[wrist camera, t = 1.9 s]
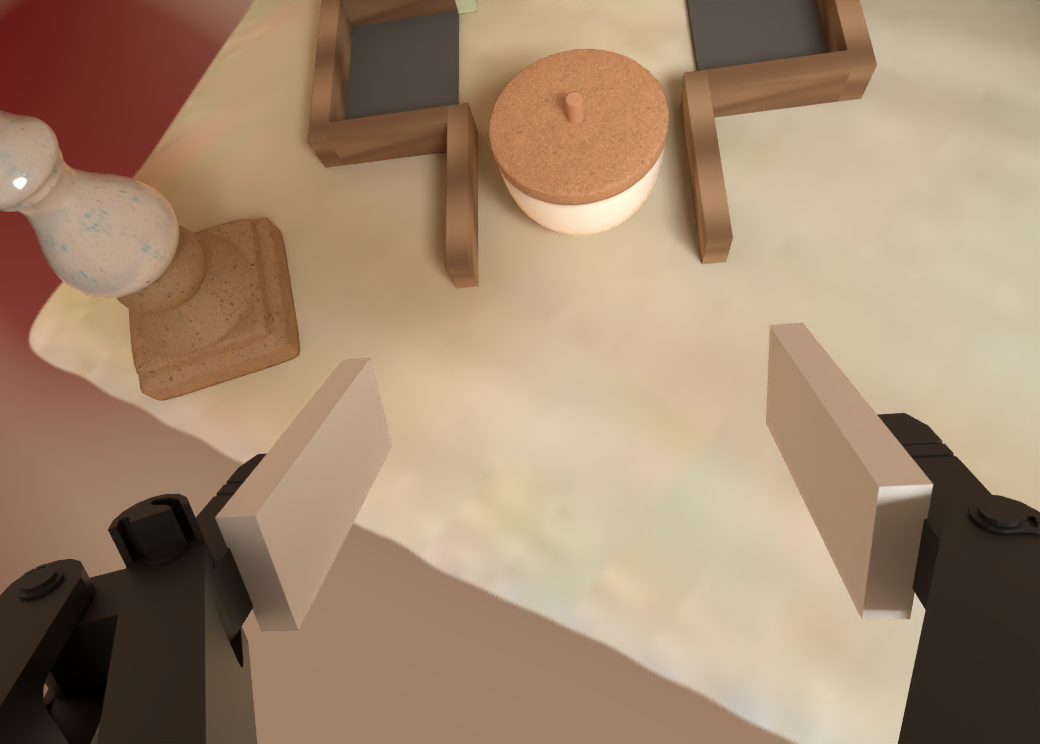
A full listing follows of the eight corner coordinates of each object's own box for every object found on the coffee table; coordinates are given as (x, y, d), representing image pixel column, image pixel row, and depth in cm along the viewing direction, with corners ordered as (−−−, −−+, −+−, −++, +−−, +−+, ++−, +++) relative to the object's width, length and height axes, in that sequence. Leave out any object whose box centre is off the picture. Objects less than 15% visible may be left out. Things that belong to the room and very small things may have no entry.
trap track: (898, 244, 41) (941, 188, 35) (313, 302, 46) (269, 261, 40) (800, -143, 53) (820, -231, 47) (346, -61, 58) (315, -131, 53)
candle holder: (281, 227, 49) (-11, -84, 26) (302, 356, 45) (-22, 118, 23) (148, 272, 49) (-248, 5, 27) (157, 403, 45) (-298, 216, 23)
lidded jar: (480, 215, 46) (445, 126, 38) (568, 110, 48) (555, 1, 39) (602, 290, 43) (596, 210, 34) (693, 173, 45) (709, 69, 36)
